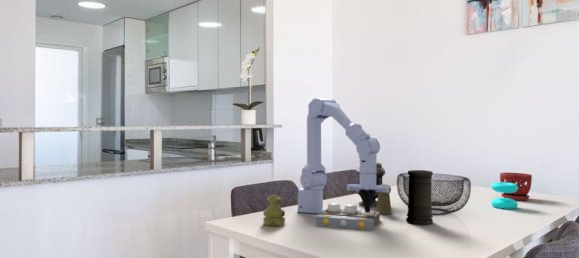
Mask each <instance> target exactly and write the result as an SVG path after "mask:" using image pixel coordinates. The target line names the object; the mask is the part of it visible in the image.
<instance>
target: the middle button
mask: <svg viewBox="0 0 579 258" xmlns="http://www.w3.org/2000/svg"><path fill="white" fill-rule="evenodd" d="M343 209H344V213H345V214H357V210H358V205H357V204H352V203H347V204H344V207H343Z"/></svg>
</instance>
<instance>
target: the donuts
mask: <svg viewBox="0 0 579 258" xmlns="http://www.w3.org/2000/svg"><path fill="white" fill-rule="evenodd" d="M505 182H506V181H505ZM505 182H500V181H498V182H492V183H491V185H490V186H491V189H492V190H493V191H494V192H495V193H496V192H497V193H501V194H502V193H513V192H516V191H517V190H518V186H517V185H516V184H517V183H516V184H513V183H505ZM490 204H491V206H492V207H494V208H496V207H497V208H496V209H500V208H504V209H503V210H514V209H516V208H518V206H519V205H518V201H517V200H513V199H509V198H503V197H496V198H493V199H492V200H491V202H490Z"/></svg>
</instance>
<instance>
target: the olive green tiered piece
mask: <svg viewBox="0 0 579 258" xmlns="http://www.w3.org/2000/svg"><path fill="white" fill-rule="evenodd" d="M266 199H267V201H268V202H269V204H270V205H269V206H268V207H267V208H266V209H265V210H263V212H262V213H263V214H262V215H263V216H264V217H263V219H262V220H263V225H264V226H266V227H275V228H276V227H282V226H284V225H285V224H286V218H285V215H286V211H285V210H283V209H282V207H281V206H279V203H280V202H281V201H282V199H283V198H282V197H281V196H279V195H277V194H271V195H270V196H268V197H266Z"/></svg>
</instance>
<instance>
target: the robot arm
mask: <svg viewBox="0 0 579 258" xmlns="http://www.w3.org/2000/svg"><path fill="white" fill-rule="evenodd" d="M307 109H308V114H307V116H306V164H305V165H304V166H303V167H302V169H301V175H300V177H299V180H300V184H301V186H302V187H300V188H299V189H298V193H297V210H296V212H297V213H308V214H317V215H319V214H321V212H323V211H324V210H326V209H327V208H324V189H325V186H326V185H327V182H328V176H327V174H326V173H327V172H326V167H325V166H324V165H323V164H322V123H323V122H324V121H325V120H326V119H328V118H330V117H331V118H332V119H334V120H335V121H336V122H337V123H338V124H339V125H340V126H341V127H342V128H343V129H344V130H345V136H346V137H347V138H348V139H349V141H351V143H353V144H354V145H355V146H356V152H357V154H358V158H359V167H360V175H359V184H358V183H357V184H356V183H355V184H354V183H353V184H352V183H351V184H350V183H349V184H346V191H355V192H356V191H360V193H359V195H358V196H360V198H361V202H362V201H363V204H364V206H363V207H364V211H365V212H368V213H369V212H370V211H371V208H372V206H371V204H372V201H373V199H374V196H375V194H376V192H386V193H389V186H390V185H389V186H379V185H376V162H377V159H378V158H377V155H378V153H379V152H380V148H381V145H380V142H379V140H378V139H377V138H374V137H371V135H370V134H368V133H367V132H366V131H365V130H364V129H363V128H362V127H363V126H362V125H361V124H358V123H356V122H355V123H353V122H352V121H351V119H350V118H349V116H347V115H346V113H345V112H344V111H343V110H342V108H341V107H340V104H339V103H338V102H337V101H336V100H335V99H332V98H330V99H327V98H319V97H315V98H313V99H311V101H310V102H309V103H308V108H307ZM367 189H373V190H367ZM389 194H390V193H389Z"/></svg>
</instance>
